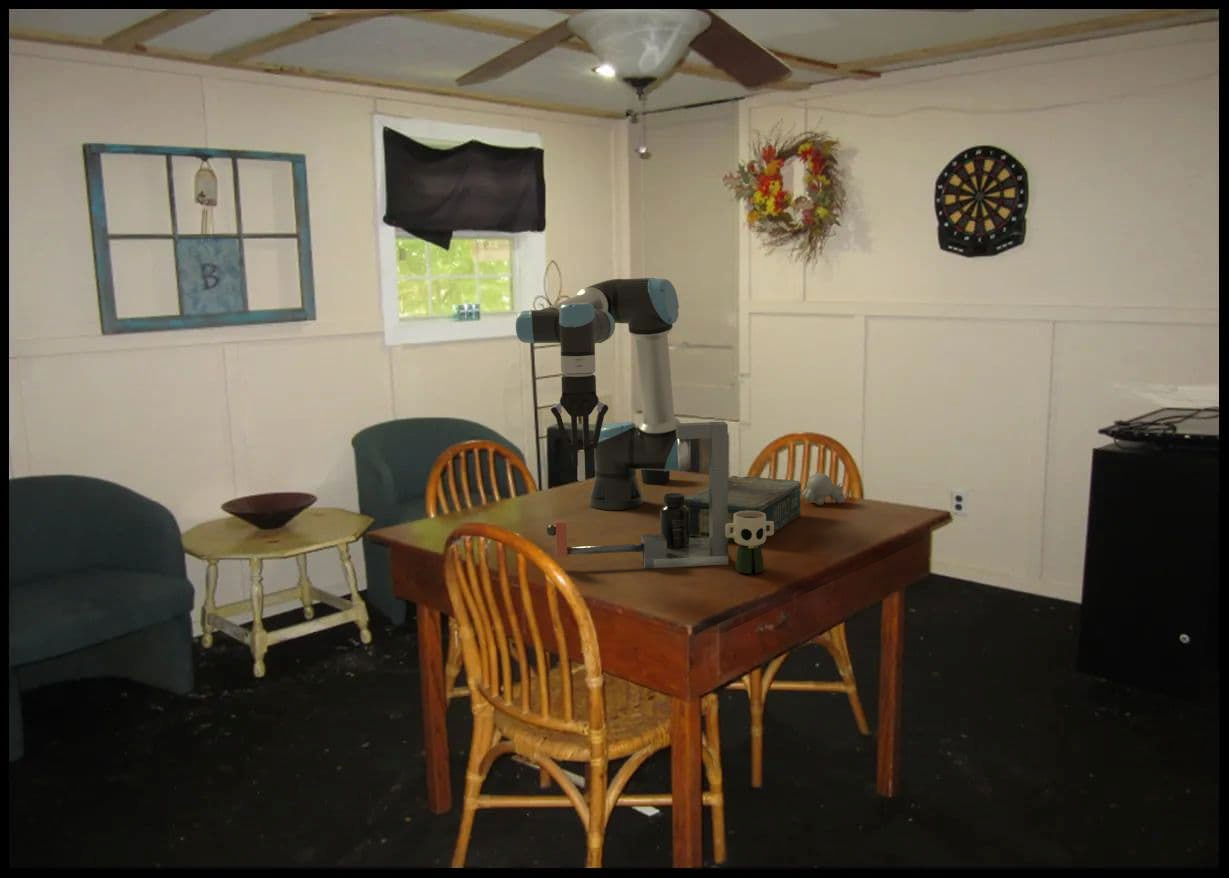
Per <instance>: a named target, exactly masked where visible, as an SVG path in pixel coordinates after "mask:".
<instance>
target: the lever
mask: <svg viewBox="0 0 1229 878" xmlns="http://www.w3.org/2000/svg"><path fill="white" fill-rule="evenodd" d="M554 522H555V524H549V525H548V526H546V530H545V532H546V534H547V535H548V536H549V537H554V536H555V554H556V558H568V556H580V555H581V556H582V555H583V556H584V555H599V554H600V555H601V554H618V553H619V554H620V553H622V554H624V553H642V552H644V544H642V543H626V544H607V545H604V544H603V545H589V546H588V545H586V546H568V537H567V536H568V532H567V531H568V530H567V529H568V528H567V519H555V520H554Z"/></svg>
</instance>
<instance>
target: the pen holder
mask: <svg viewBox="0 0 1229 878" xmlns="http://www.w3.org/2000/svg"><path fill="white" fill-rule="evenodd" d="M670 472H671V471H659V470H642V469H640V475H641V482H642V483H643V484H645V483H646V484H645V485H650V484H659V485H665V483H666V484H668V483H669V482H670V474H671V473H670Z"/></svg>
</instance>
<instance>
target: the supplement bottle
mask: <svg viewBox="0 0 1229 878" xmlns="http://www.w3.org/2000/svg"><path fill="white" fill-rule="evenodd" d="M684 498H685V495H684V493H679V492H669V493H664V494H663V504H664V505H663V506H662V507H661V508H660V510H659V523H660V525H659V526H660V527H659V528H660V532H659V534H663V535H664V537H665V538H666V540H667V547H668V548H681V547H685V546H687V545H688V544H689V538H690V536H689V509H688V507H687V506H685V505H684V503H685V500H684Z"/></svg>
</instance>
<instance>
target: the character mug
mask: <svg viewBox="0 0 1229 878" xmlns="http://www.w3.org/2000/svg"><path fill="white" fill-rule="evenodd" d="M766 525H770V531H767V532H766ZM730 527H734V533H732V534H730ZM774 534H775V533H774V522H773V521H766V514H765V513H763V512H759V511H739V512H736V513H734V523H728V524H726V526H725V536H726V538H734V540H735V542H734V543H735V544H738V546H737V552H736V560H735V570H736V571H738V572H739V573H743V574H752V571H755V574H758V573H761V572H763V571H764V570H765V567H764V566H765V565H764V558H763V550H762V546H761V545H763V544H764V543H766V540H767V538H766V536H769V537H770V536H771V537H772V536H774Z"/></svg>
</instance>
